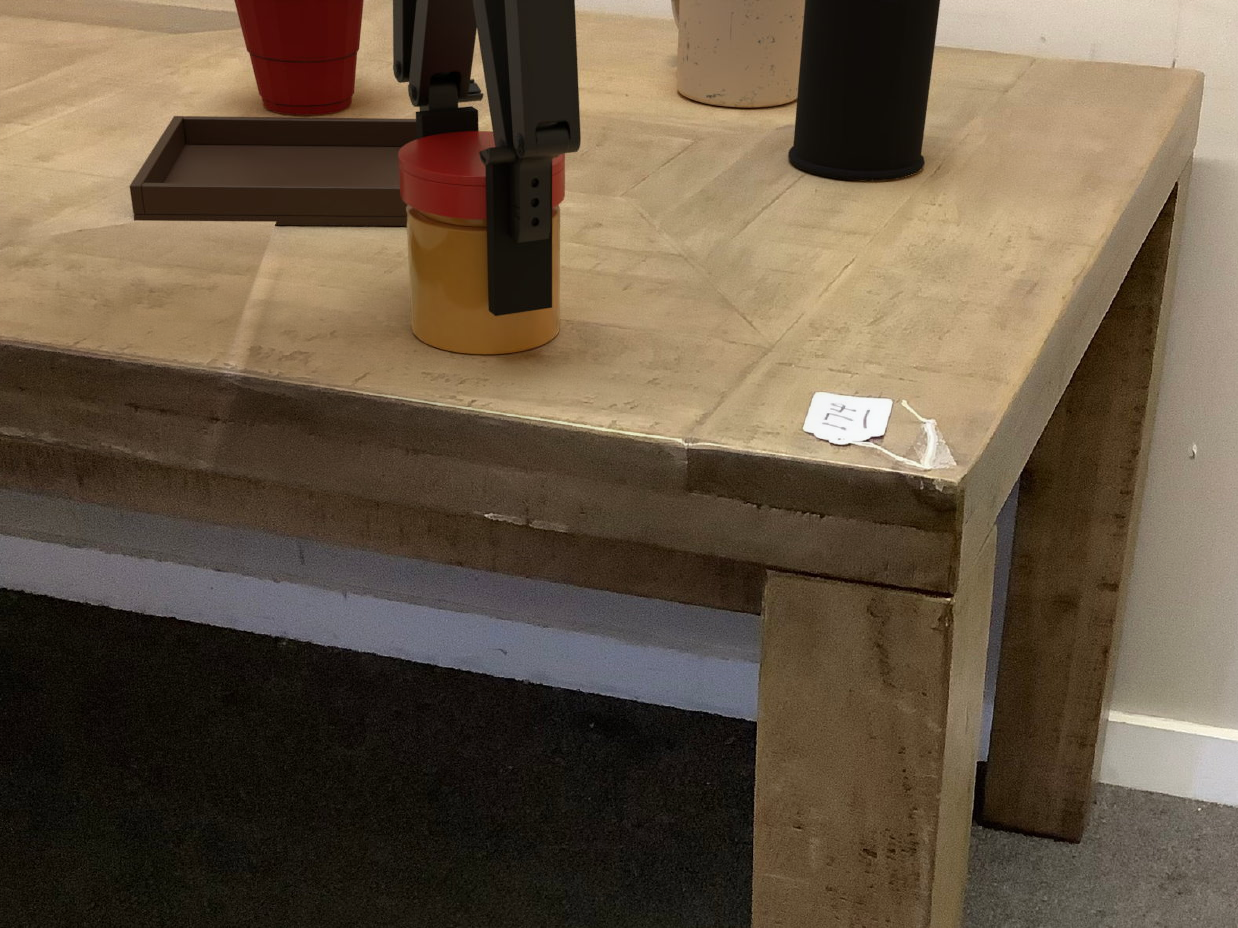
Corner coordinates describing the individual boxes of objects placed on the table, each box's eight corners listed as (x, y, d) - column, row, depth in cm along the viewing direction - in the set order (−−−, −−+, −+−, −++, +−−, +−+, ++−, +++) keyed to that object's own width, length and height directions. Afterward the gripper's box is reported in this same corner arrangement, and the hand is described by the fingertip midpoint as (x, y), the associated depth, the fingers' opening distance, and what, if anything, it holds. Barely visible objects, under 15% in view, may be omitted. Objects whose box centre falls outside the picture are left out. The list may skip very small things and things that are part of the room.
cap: (449, 163, 78) (448, 122, 77) (591, 184, 75) (592, 143, 74) (369, 204, 72) (367, 162, 71) (520, 229, 70) (520, 185, 69)
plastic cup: (222, 129, 104) (199, -85, 97) (222, 87, 113) (201, -113, 106) (398, 125, 106) (388, -86, 99) (385, 84, 115) (374, -113, 108)
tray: (134, 224, 88) (129, 185, 87) (178, 150, 100) (173, 115, 99) (462, 226, 89) (461, 188, 88) (468, 153, 101) (467, 119, 100)
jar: (408, 354, 74) (399, 194, 70) (415, 301, 80) (407, 150, 76) (561, 355, 75) (562, 195, 71) (558, 302, 80) (558, 151, 76)
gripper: (687, -305, 57) (662, 343, 70) (461, -332, 72) (475, 209, 85) (484, -306, 54) (497, 371, 67) (291, -334, 69) (332, 227, 82)
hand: (484, 280), depth 76 cm, fingers closed on cap, 7 cm apart
